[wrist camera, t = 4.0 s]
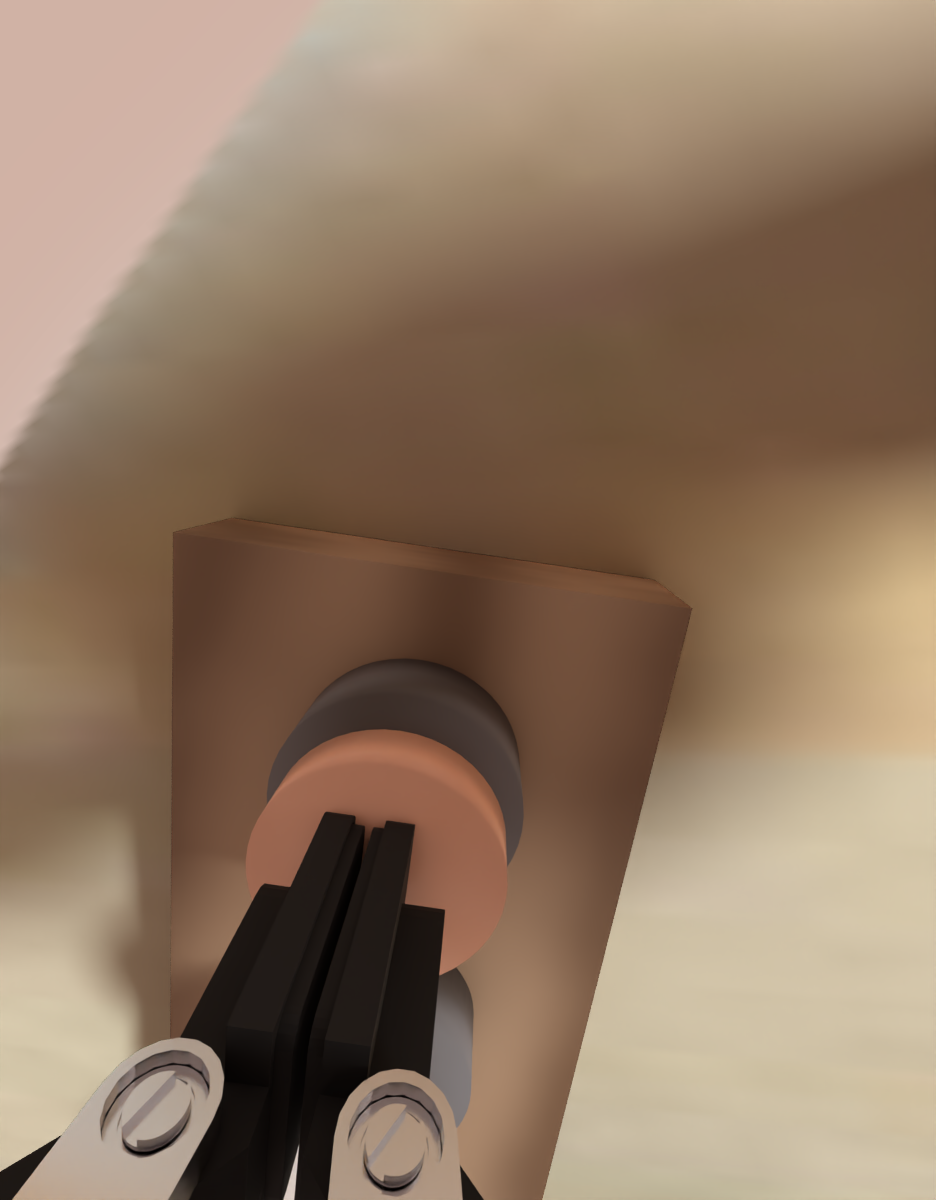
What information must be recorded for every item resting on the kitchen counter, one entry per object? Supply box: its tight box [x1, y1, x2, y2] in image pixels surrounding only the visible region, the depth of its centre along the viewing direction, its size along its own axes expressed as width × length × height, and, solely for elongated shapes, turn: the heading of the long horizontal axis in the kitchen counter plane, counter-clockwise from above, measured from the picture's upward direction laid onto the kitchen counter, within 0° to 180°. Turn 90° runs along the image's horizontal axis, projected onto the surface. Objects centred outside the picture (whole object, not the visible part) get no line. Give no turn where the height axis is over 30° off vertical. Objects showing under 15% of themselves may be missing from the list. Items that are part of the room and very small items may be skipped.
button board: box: [170, 518, 692, 1200], centre depth 17 cm, size 12×26×5 cm, turn 172°
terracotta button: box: [246, 729, 508, 975], centre depth 11 cm, size 5×5×1 cm
